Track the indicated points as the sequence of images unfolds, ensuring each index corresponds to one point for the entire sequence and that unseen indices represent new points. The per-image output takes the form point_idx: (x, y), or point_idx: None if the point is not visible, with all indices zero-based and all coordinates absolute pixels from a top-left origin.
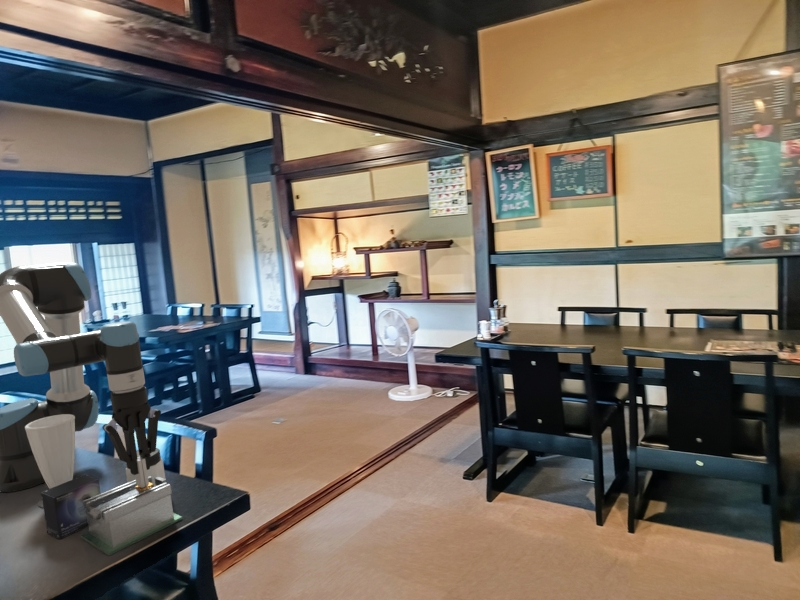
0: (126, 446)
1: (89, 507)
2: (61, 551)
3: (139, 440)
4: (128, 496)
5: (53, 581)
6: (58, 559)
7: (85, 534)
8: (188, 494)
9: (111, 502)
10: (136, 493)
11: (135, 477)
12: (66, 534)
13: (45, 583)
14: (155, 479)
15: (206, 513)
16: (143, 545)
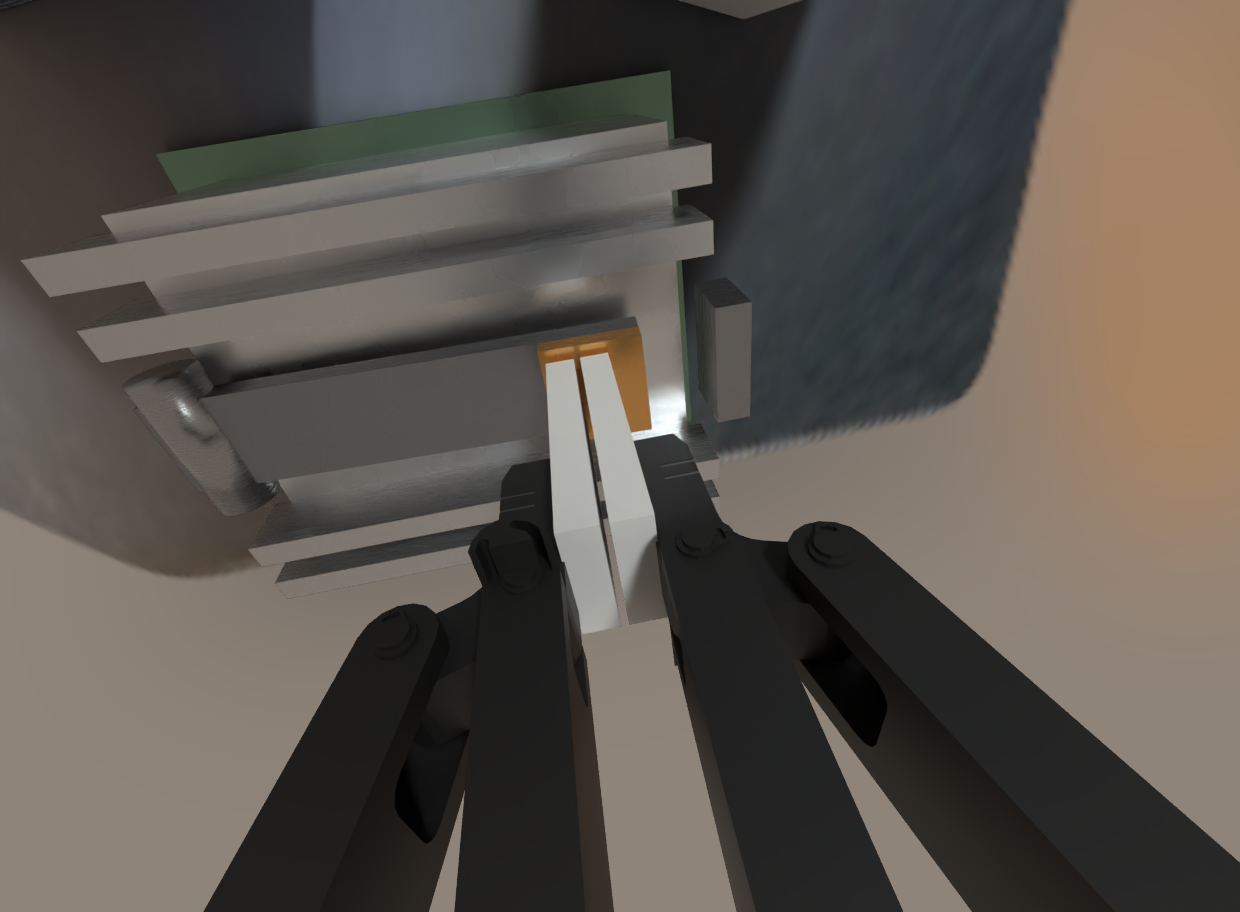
0: (474, 813)
1: (146, 401)
2: (63, 242)
3: (730, 863)
4: (460, 425)
5: (121, 505)
6: (77, 330)
7: (190, 170)
8: (878, 134)
9: (332, 418)
10: (519, 429)
11: (548, 401)
12: (9, 6)
13: (84, 497)
14: (712, 317)
15: (775, 443)
16: None
